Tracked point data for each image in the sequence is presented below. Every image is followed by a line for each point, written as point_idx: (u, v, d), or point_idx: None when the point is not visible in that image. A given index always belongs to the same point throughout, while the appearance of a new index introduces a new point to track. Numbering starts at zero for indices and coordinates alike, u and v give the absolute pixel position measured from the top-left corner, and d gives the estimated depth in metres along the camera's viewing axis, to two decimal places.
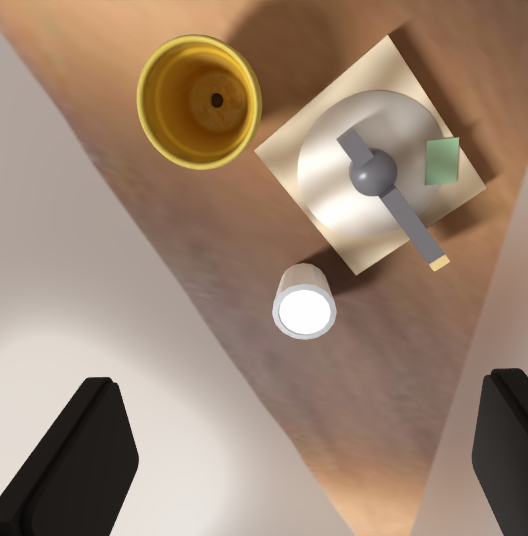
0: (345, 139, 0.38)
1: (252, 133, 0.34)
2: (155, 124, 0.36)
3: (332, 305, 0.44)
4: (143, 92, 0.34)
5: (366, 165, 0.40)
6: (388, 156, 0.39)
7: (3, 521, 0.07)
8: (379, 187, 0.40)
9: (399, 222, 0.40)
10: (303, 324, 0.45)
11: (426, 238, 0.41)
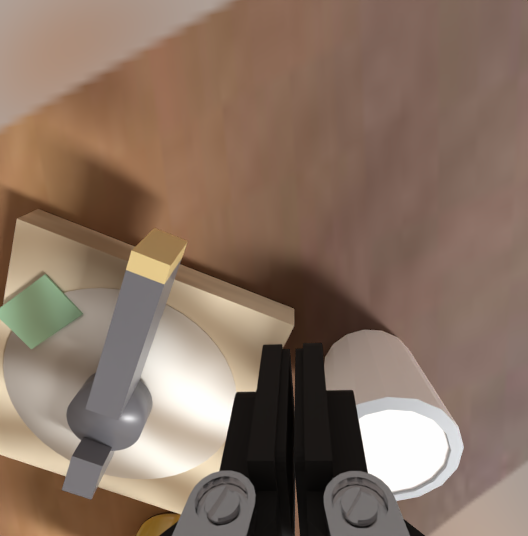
0: (81, 494, 0.24)
1: None
2: None
3: None
4: None
5: (101, 436, 0.24)
6: (69, 418, 0.24)
7: (268, 460, 0.08)
8: None
9: (130, 376, 0.21)
10: (420, 443, 0.20)
11: (123, 320, 0.19)
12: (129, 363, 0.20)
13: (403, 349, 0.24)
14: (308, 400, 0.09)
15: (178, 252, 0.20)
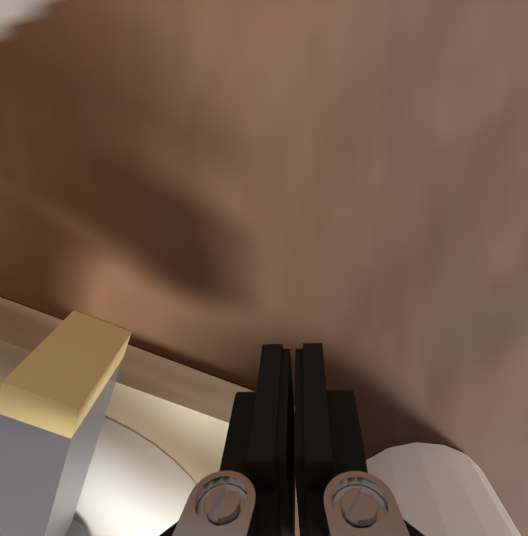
0: None
1: None
2: None
3: None
4: None
5: None
6: None
7: (268, 460, 0.08)
8: None
9: None
10: None
11: (6, 488, 0.11)
12: None
13: (481, 485, 0.15)
14: (308, 400, 0.09)
15: (105, 366, 0.11)
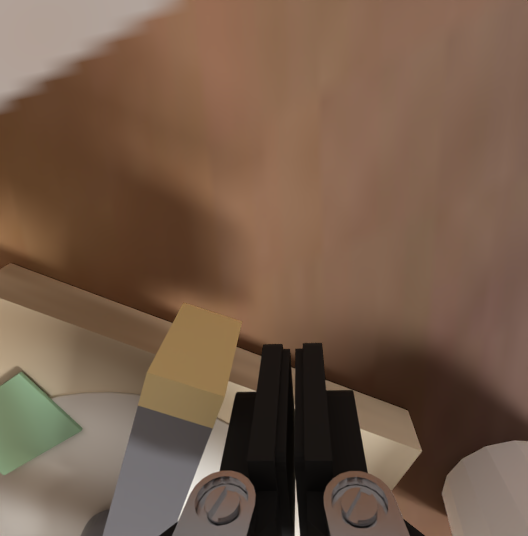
0: None
1: None
2: None
3: None
4: None
5: None
6: None
7: (268, 460, 0.08)
8: None
9: None
10: None
11: (138, 485, 0.11)
12: None
13: None
14: (308, 400, 0.09)
15: (232, 354, 0.11)
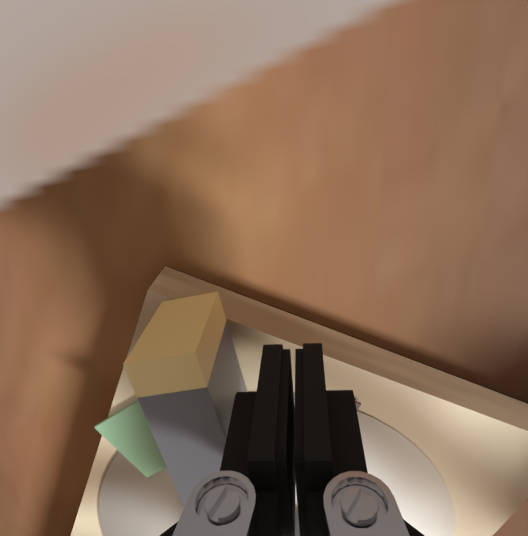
0: None
1: None
2: None
3: None
4: None
5: None
6: None
7: (268, 460, 0.08)
8: None
9: None
10: None
11: (188, 472, 0.11)
12: None
13: None
14: (308, 400, 0.09)
15: (205, 319, 0.11)
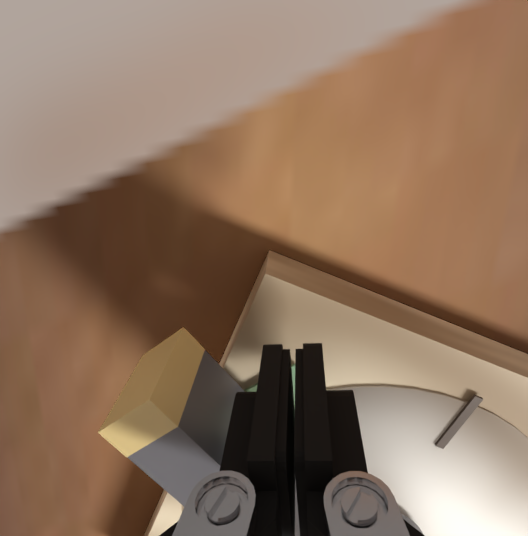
0: None
1: None
2: None
3: None
4: None
5: None
6: None
7: (268, 460, 0.08)
8: None
9: None
10: None
11: None
12: None
13: None
14: (308, 400, 0.09)
15: (166, 360, 0.11)
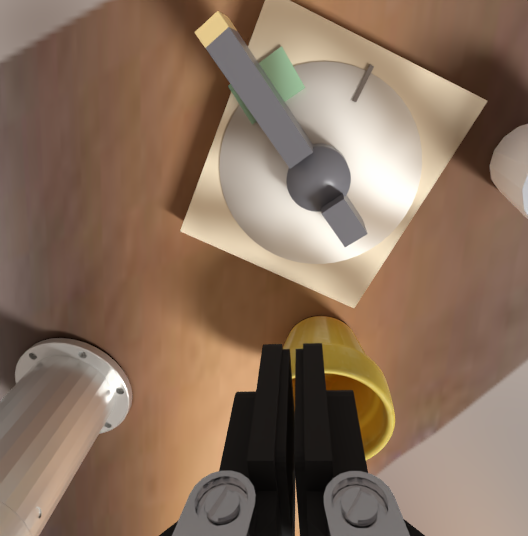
0: (358, 237, 0.28)
1: (326, 369, 0.29)
2: (362, 436, 0.34)
3: None
4: None
5: (328, 193, 0.29)
6: (299, 203, 0.29)
7: (268, 460, 0.08)
8: (310, 161, 0.28)
9: (283, 112, 0.25)
10: None
11: (239, 80, 0.25)
12: (273, 104, 0.25)
13: None
14: (308, 400, 0.09)
15: (222, 14, 0.25)
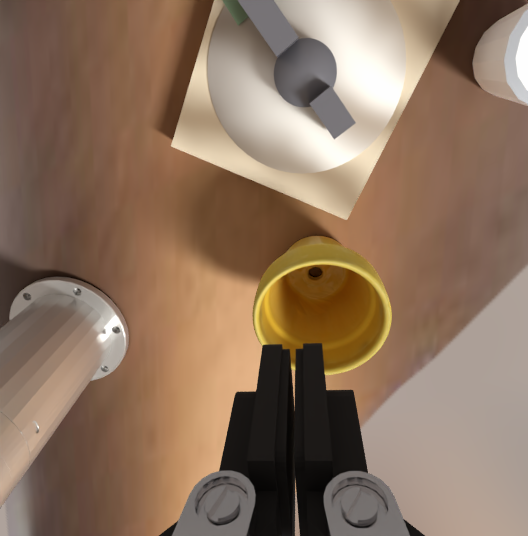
0: (347, 127, 0.29)
1: (321, 259, 0.29)
2: (360, 343, 0.34)
3: None
4: (332, 367, 0.33)
5: (315, 86, 0.29)
6: (287, 99, 0.30)
7: (268, 460, 0.08)
8: (296, 52, 0.28)
9: None
10: None
11: None
12: None
13: None
14: (308, 400, 0.09)
15: None
